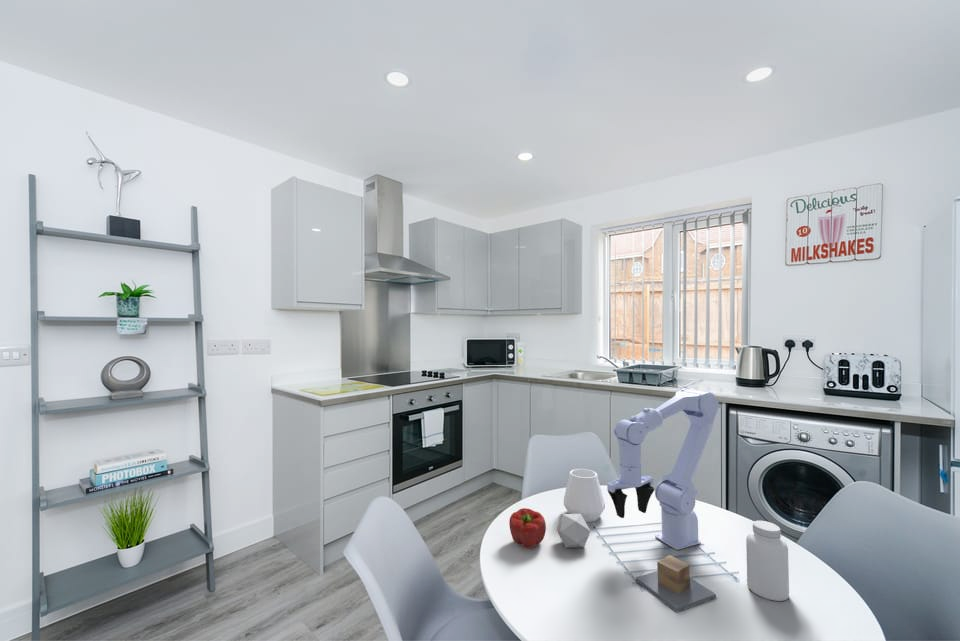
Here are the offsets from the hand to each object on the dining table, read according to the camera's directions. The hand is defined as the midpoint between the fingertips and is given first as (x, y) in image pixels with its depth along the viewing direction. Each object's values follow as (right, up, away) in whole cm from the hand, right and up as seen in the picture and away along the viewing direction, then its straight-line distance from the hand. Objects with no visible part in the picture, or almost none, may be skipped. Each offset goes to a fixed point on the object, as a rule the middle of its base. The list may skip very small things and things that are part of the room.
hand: (631, 514), depth 112 cm
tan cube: (+4, -9, -17) cm, 19 cm away
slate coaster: (+4, -9, -17) cm, 20 cm away
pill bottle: (+25, -9, -18) cm, 32 cm away
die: (-15, -10, +3) cm, 19 cm away
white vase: (-8, -11, +21) cm, 25 cm away
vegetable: (-28, -11, +3) cm, 30 cm away
